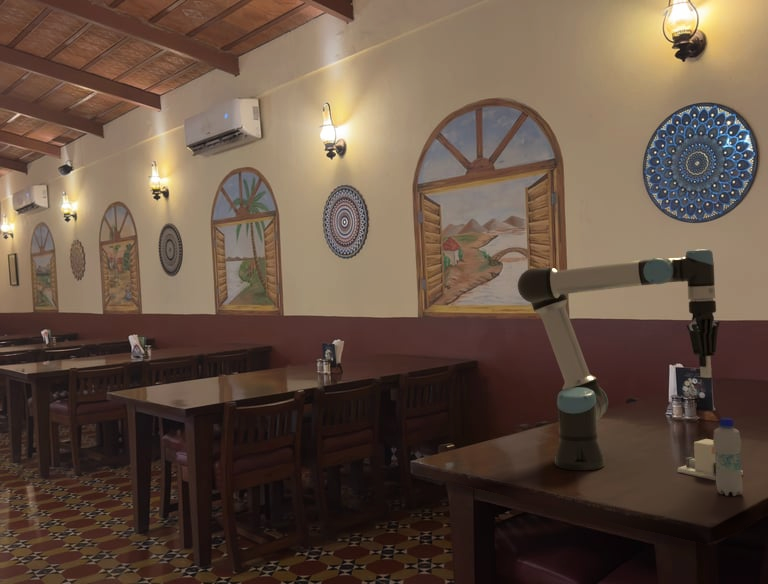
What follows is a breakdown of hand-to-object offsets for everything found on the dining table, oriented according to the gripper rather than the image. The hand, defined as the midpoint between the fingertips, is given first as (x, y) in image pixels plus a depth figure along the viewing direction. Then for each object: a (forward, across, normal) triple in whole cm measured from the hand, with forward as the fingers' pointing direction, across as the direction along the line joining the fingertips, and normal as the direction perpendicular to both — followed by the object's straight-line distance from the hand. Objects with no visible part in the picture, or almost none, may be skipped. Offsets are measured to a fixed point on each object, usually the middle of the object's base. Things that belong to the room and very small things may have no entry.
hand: (706, 377), depth 212 cm
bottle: (+27, -23, -21) cm, 41 cm away
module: (+25, -10, -6) cm, 28 cm away
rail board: (+26, -10, -7) cm, 29 cm away
